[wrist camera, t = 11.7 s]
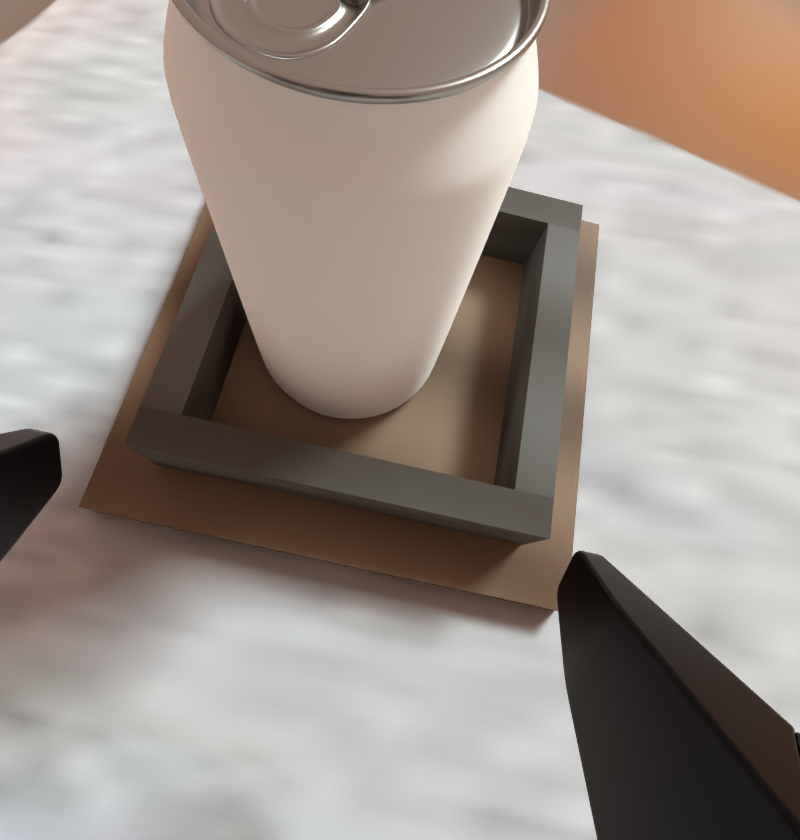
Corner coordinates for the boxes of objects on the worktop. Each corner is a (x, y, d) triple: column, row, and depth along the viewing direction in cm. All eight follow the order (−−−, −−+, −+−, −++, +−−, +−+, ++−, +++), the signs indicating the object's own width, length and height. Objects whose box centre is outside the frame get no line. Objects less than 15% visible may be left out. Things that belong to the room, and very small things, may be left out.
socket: (555, 611, 17) (605, 617, 14) (94, 511, 16) (31, 493, 13) (588, 240, 22) (630, 179, 19) (240, 154, 22) (221, 77, 18)
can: (225, 325, 18) (23, -115, 7) (363, 239, 20) (389, -221, 8) (336, 460, 17) (318, 205, 6) (471, 355, 19) (667, 4, 7)
